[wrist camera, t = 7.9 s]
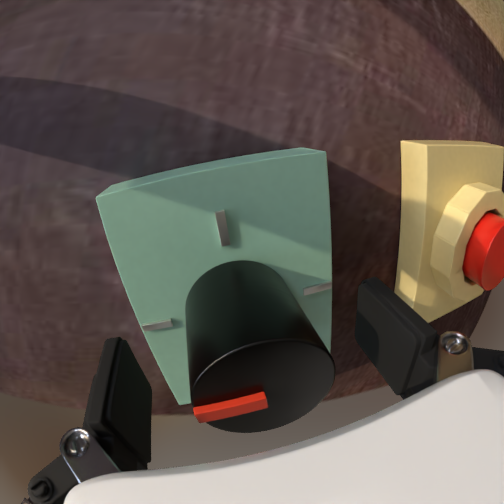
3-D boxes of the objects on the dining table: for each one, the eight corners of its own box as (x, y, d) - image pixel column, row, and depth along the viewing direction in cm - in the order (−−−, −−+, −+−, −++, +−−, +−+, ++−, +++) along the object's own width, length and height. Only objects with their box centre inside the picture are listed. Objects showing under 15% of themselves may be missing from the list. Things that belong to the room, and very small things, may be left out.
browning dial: (282, 247, 12) (343, 325, 7) (292, 332, 14) (336, 415, 9) (172, 274, 11) (168, 371, 7) (201, 356, 13) (214, 450, 9)
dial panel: (314, 342, 18) (330, 369, 16) (178, 375, 17) (179, 407, 14) (302, 147, 13) (328, 151, 11) (111, 185, 12) (93, 198, 9)
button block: (465, 282, 20) (496, 304, 16) (389, 315, 19) (422, 349, 15) (481, 141, 15) (523, 151, 11) (399, 140, 14) (451, 149, 10)
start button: (491, 268, 15) (508, 279, 13) (455, 286, 14) (474, 300, 13) (502, 207, 13) (521, 216, 11) (467, 217, 12) (490, 228, 11)
